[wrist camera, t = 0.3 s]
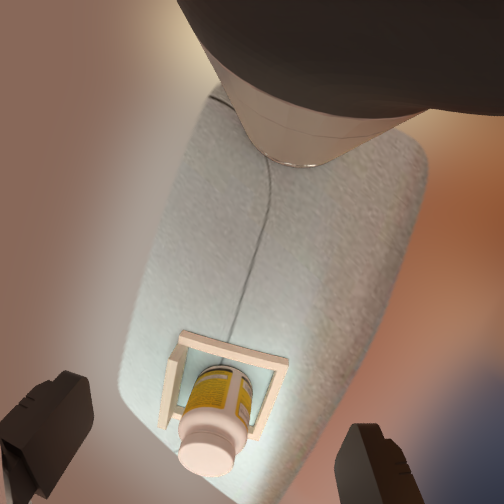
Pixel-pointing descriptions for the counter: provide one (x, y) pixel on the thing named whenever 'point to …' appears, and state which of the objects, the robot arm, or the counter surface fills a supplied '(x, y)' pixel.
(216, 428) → the supplement bottle
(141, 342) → the counter surface
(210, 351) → the beige open frame
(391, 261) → the counter surface
